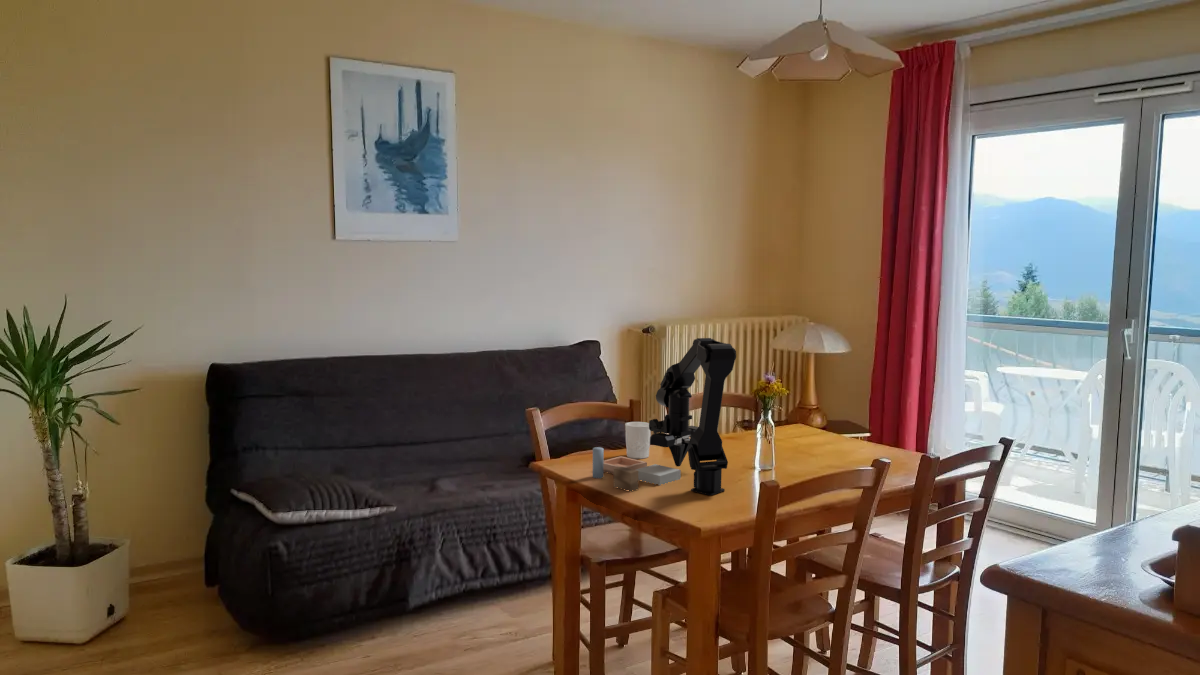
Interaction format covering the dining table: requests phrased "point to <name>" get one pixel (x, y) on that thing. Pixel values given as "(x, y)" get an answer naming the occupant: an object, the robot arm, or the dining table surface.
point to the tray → (622, 464)
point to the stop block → (626, 478)
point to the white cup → (637, 439)
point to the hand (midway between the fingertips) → (677, 466)
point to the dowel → (598, 462)
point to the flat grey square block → (658, 474)
